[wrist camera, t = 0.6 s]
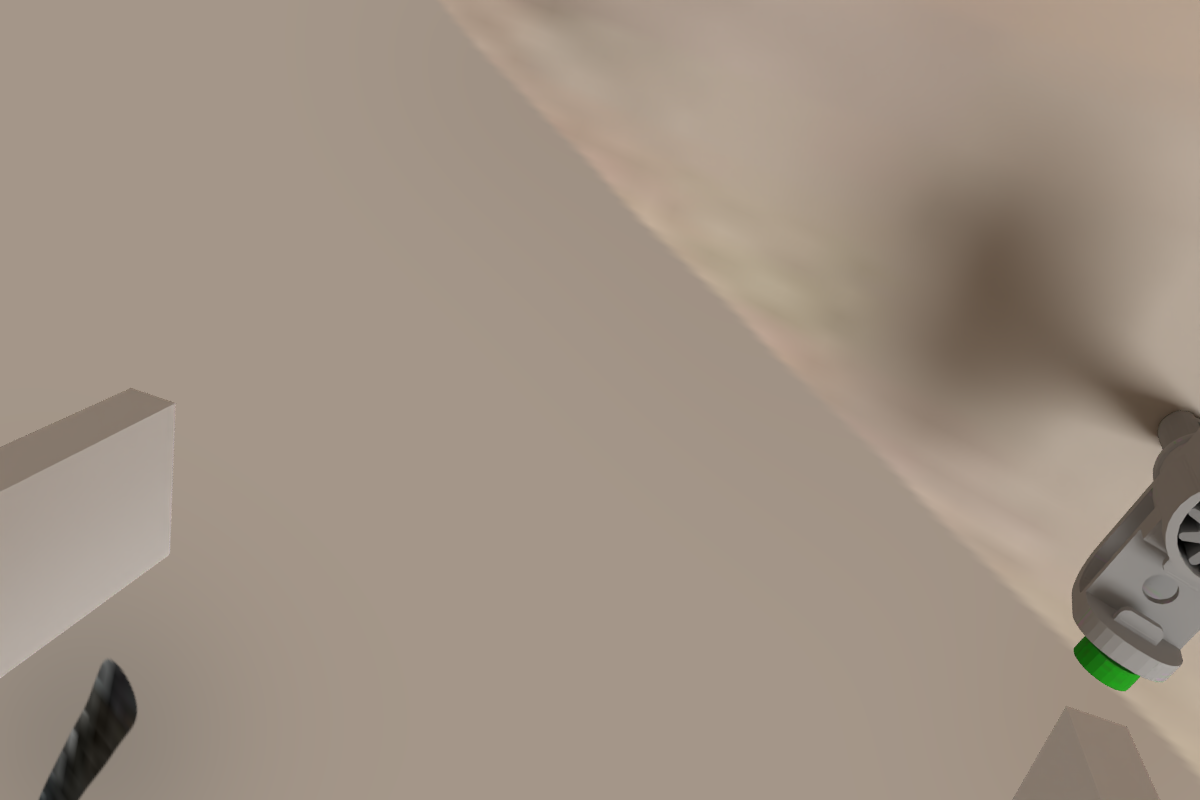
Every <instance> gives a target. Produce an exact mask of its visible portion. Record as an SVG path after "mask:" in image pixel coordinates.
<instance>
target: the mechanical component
mask: <svg viewBox="0 0 1200 800" xmlns="http://www.w3.org/2000/svg"><path fill="white" fill-rule="evenodd" d="M1158 438H1159V441H1160V443H1161V446H1162V449H1163V450H1162V451H1161V453H1160V454H1159V455H1158V457H1157V459H1156V462H1155V465H1154V468H1153V482H1152V484H1151V485H1150V486H1149V487H1148V488H1147V489H1146V491H1145V492H1144V493H1143V494H1142V495H1141V496H1140V498H1139V499H1138V500H1137V501H1136V502H1135V503H1134V505H1133V506H1132V507H1131V508H1130V509H1129V510H1128V512H1127V513H1126V514H1125V515H1124V516H1123V517H1122V518H1121V520H1120V521H1119V522H1118V523H1117V524H1116V525H1115V527H1114V528H1113V529H1112V530H1111V531H1110V532H1109V534H1108V535H1107V536H1106V537H1105V538H1104V539H1103V541H1102V542H1101V543H1100V544H1099V545H1098V546H1097V548H1096V549H1095V550H1094V551H1093V553H1092V554H1091V555H1090V557H1089V558H1088V559H1087V561H1086V562H1085V564H1084V565H1083V567H1082V569H1081V570H1080V572H1079V574H1078V576H1077V578H1076V580H1075V583H1074V585H1073V589H1072V610H1073V618H1074V620H1075V622H1076V624H1077V626H1078V627H1079V629H1080V630H1081V631H1082V633H1083V634H1084V635H1085V637H1084V638H1083V639H1082V640H1081V641H1080V642H1079V643H1078V644H1077V645H1076V646H1075V648H1074V654H1075V657H1076V658H1077V659H1078V661H1079V663H1080V664H1081V665H1082V666H1083V667H1084V668H1085V669H1086V670H1087V671H1088V672H1089V673H1090V674H1091V675H1092V676H1094V677H1095V678H1096V679H1098V680H1099V681H1100V682H1102V683H1104V684H1105V685H1107V686H1109V687H1111V688H1113V689H1115V690H1119V691H1126V690H1128V689H1129V688H1130V687H1131V686H1132V685H1133V684H1134V683H1135V682H1136V680H1137V679H1138V678H1139V677H1140V676H1141V677H1143V678H1145V679H1148V680H1151V681H1155V682H1164V681H1166V680H1167V679H1168V678H1169V677H1170V676H1171V675H1172V674H1173V673H1174V672H1175V671H1176V670H1177V669H1178V668H1179V667H1180V666H1181V664H1182V662H1183V659H1182V655H1181V651H1180V649H1181V648H1182V647H1183V646H1184V645H1185V644H1186V643H1187V642H1188V641H1189V640H1190V639H1191V638H1192V637H1193V636H1194V635H1195V634H1196V633H1197V632H1198V631H1199V630H1200V419H1199V418H1196V417H1194V415H1193V413H1190V412H1187V411H1181V410H1180V411H1177V412H1173V413H1171V414H1169V415H1168V416H1166V417H1165V418H1164V419H1163V420H1162V421H1161V423H1160V425H1159V428H1158Z"/></svg>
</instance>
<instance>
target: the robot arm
mask: <svg viewBox="0 0 1200 800" xmlns="http://www.w3.org/2000/svg"><path fill="white" fill-rule="evenodd" d="M175 405H176V404H175V403H174V402H171V401H168V400H165V399H162V398H159V397H156V396H153V395H150V394H147V393H144V392H141V391H138V390H135V389H133V388H130V389H128V390H126V391H123V392H121V393H119V394H117V395H115V396H112V397H110V398H108V399H106V400H103V401H101V402H99V403H97V404H95V405H92V406H90V407H88V408H86V409H84V410H81V411H79V412H77V413H75V414H73V415H70V416H68V417H66V418H64V419H62V420H59V421H57V422H55V423H53V424H51V425H48V426H46V427H44V428H42V429H39V430H37V431H35V432H33V433H30V434H28V435H26V436H24V437H21V438H19V439H17V440H15V441H13V442H11V443H9V444H6V445H4V446H2V447H0V678H1V677H2V676H4V675H5V674H6V673H8V672H9V671H11V670H12V669H13V668H14V667H16V666H17V665H19V664H20V663H21V662H23V661H24V660H26V659H27V658H28V657H30V656H31V655H32V654H34V653H35V652H37V651H38V650H39V649H41V648H42V647H43V646H45V645H46V644H48V643H49V642H50V641H52V640H53V639H54V638H56V637H57V636H59V635H60V634H61V633H63V632H64V631H65V630H67V629H68V628H69V627H71V626H72V625H74V624H75V623H76V622H77V621H79V620H80V619H82V618H83V617H85V616H86V615H87V614H89V613H90V612H91V611H93V610H94V609H96V608H97V607H98V606H100V605H101V604H102V603H104V602H105V601H107V600H108V599H109V598H111V597H112V596H113V595H115V594H116V593H117V592H119V591H120V590H122V589H123V588H124V587H126V586H127V585H128V584H130V583H131V582H132V581H134V580H135V579H137V578H138V577H139V576H141V575H142V574H144V573H145V572H146V571H147V570H149V569H150V568H152V567H153V566H154V565H156V564H157V563H159V562H160V561H161V560H163V559H164V558H165V557H167V556H168V555H169V554H170V534H171V508H172V482H173V480H172V479H173V457H174V456H173V455H174V431H175ZM1013 800H1160V799H1159V797H1158V794H1157V792H1156V790H1155V788H1154V785H1153V783H1152V781H1151V779H1150V777H1149V774H1148V772H1147V770H1146V768H1145V766H1144V763H1143V761H1142V759H1141V757H1140V754H1139V753H1138V750H1137V748H1136V746H1135V743H1134V741H1133V739H1132V737H1131V735H1130V732H1129V730H1128V728H1127V727H1126V726H1123V725H1120V724H1117V723H1115V722H1112V721H1109V720H1106V719H1103V718H1100V717H1097V716H1094V715H1091V714H1088V713H1085V712H1082V711H1079V710H1077V709H1074V708H1071V707H1068V706H1066V707H1065V709H1064V711H1063V713H1062V714H1061V716H1060V718H1059V719H1058V721H1057V723H1056V725H1055V726H1054V728H1053V730H1052V732H1051V733H1050V735H1049V737H1048V739H1047V740H1046V742H1045V744H1044V746H1043V747H1042V749H1041V751H1040V752H1039V754H1038V756H1037V758H1036V760H1035V761H1034V763H1033V765H1032V766H1031V768H1030V770H1029V772H1028V774H1027V775H1026V777H1025V779H1024V780H1023V782H1022V784H1021V786H1020V787H1019V789H1018V791H1017V793H1016V795H1015V796H1014V798H1013Z"/></svg>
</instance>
